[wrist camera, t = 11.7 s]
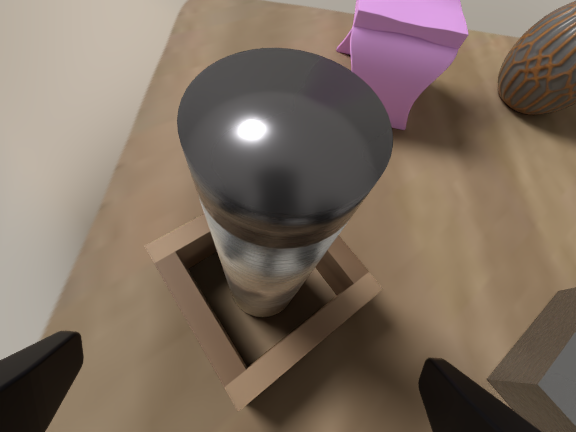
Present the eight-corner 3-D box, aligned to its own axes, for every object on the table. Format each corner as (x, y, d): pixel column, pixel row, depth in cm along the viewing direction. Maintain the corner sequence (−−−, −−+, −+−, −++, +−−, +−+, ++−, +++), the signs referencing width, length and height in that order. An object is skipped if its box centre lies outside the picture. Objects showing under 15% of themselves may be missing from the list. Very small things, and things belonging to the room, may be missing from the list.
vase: (477, 105, 25) (581, -10, 17) (488, 62, 28) (581, -52, 20) (555, 139, 24) (702, 35, 16) (558, 91, 27) (683, -16, 19)
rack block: (240, 400, 13) (237, 412, 11) (162, 264, 16) (144, 245, 13) (361, 299, 16) (383, 288, 13) (279, 196, 19) (284, 169, 16)
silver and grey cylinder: (280, 328, 15) (363, 252, 4) (218, 301, 15) (127, 156, 4) (303, 267, 17) (409, 88, 5) (247, 243, 17) (239, 25, 6)
